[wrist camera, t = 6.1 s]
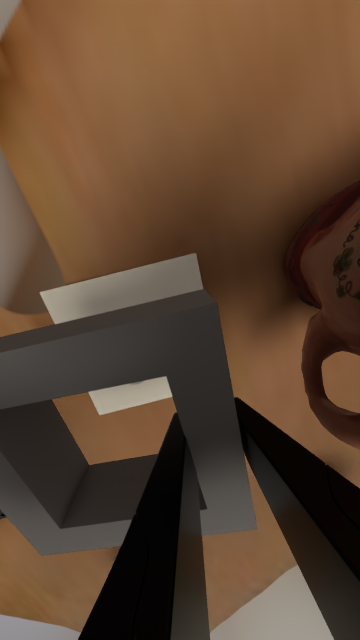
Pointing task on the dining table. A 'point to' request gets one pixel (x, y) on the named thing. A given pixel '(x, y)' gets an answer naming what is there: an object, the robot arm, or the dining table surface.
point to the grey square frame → (104, 372)
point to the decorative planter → (329, 299)
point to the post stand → (121, 294)
